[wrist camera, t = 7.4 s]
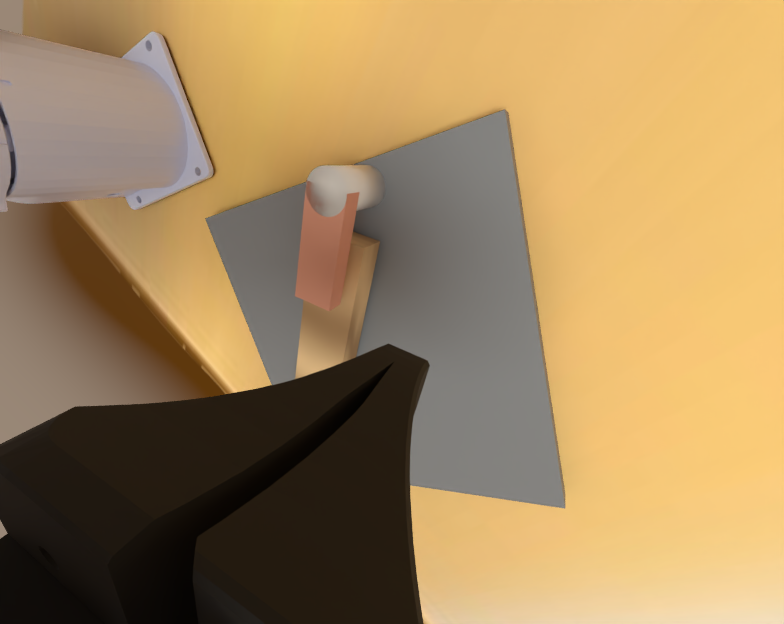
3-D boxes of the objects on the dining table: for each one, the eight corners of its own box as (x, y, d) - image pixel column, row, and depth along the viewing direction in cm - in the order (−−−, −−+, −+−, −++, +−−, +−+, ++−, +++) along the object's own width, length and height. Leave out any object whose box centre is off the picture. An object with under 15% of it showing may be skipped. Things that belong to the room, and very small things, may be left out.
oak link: (348, 425, 24) (322, 458, 21) (300, 399, 25) (269, 427, 22) (388, 244, 18) (357, 259, 15) (322, 220, 19) (283, 230, 16)
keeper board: (313, 460, 29) (275, 506, 25) (217, 216, 24) (150, 227, 20) (565, 494, 20) (565, 572, 16) (508, 112, 15) (488, 94, 11)
